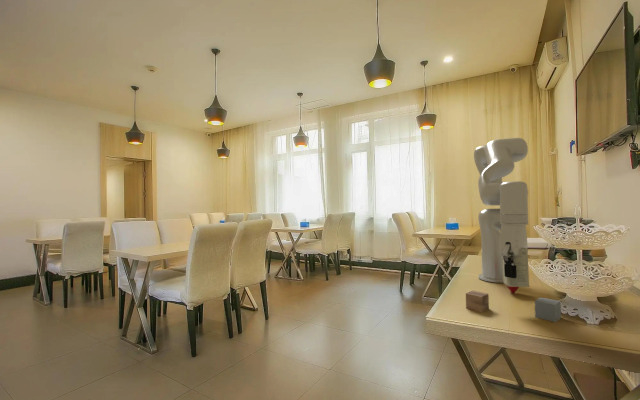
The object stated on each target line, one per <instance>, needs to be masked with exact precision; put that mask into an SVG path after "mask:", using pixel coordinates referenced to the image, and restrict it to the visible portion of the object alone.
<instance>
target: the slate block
mask: <svg viewBox="0 0 640 400" xmlns="http://www.w3.org/2000/svg"><path fill="white" fill-rule="evenodd" d="M561 306H562V305H561V301H560V300H555V299H551V298H547V297H541V296H540V297H538V298H537V299H535V300H534V316H535V318H536V319H542V320H546V321H551V322H554V323H557V322H559V320H560V319H561V318H562V309H561V308H562V307H561Z"/></svg>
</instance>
